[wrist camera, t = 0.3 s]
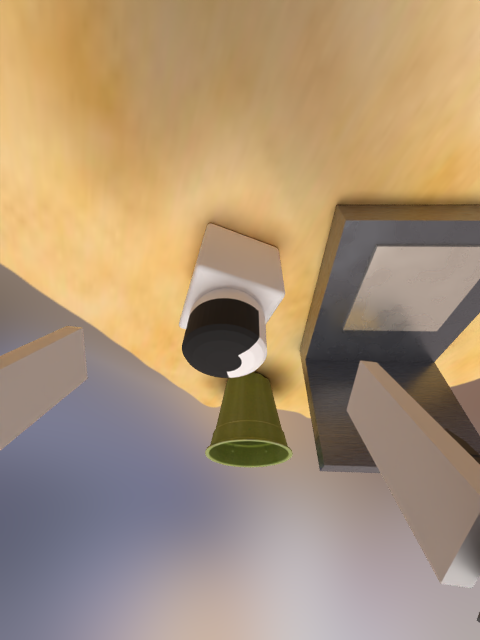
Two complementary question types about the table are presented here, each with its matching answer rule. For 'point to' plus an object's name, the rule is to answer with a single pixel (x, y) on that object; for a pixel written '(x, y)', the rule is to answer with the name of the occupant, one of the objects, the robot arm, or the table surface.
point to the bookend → (389, 316)
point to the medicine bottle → (230, 303)
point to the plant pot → (248, 426)
